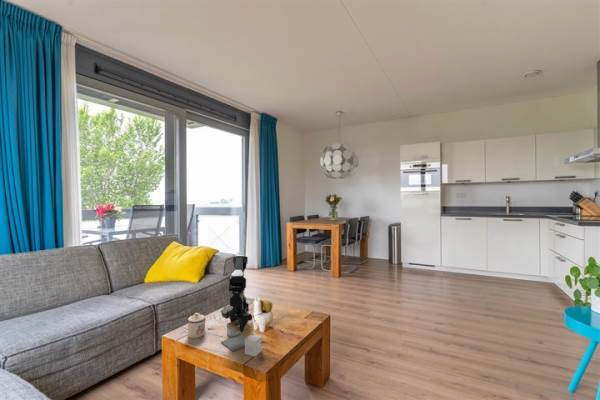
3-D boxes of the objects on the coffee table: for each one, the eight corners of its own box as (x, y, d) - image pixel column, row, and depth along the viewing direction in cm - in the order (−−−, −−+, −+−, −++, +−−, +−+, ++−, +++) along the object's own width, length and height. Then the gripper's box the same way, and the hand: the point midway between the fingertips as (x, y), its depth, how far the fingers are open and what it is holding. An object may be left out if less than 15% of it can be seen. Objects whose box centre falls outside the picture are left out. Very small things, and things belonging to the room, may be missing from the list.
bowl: (235, 329, 165) (235, 322, 165) (241, 333, 161) (241, 326, 161) (224, 333, 161) (224, 325, 161) (230, 337, 156) (230, 329, 156)
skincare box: (255, 357, 137) (255, 341, 137) (244, 354, 140) (244, 338, 140) (262, 350, 143) (262, 335, 143) (251, 348, 145) (251, 333, 145)
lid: (239, 323, 155) (239, 317, 155) (247, 327, 150) (247, 322, 150) (227, 327, 150) (227, 321, 150) (234, 332, 145) (234, 326, 145)
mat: (241, 335, 159) (241, 334, 159) (253, 343, 150) (253, 342, 150) (220, 342, 150) (220, 341, 150) (233, 352, 142) (233, 350, 142)
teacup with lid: (198, 339, 154) (198, 317, 153) (183, 337, 156) (183, 315, 156) (211, 329, 165) (211, 309, 165) (198, 327, 168) (198, 307, 168)
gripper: (214, 298, 151) (214, 328, 151) (233, 308, 138) (233, 341, 138) (233, 293, 159) (233, 322, 159) (252, 302, 145) (252, 334, 145)
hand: (237, 329), depth 150 cm, fingers closed on lid, 7 cm apart
